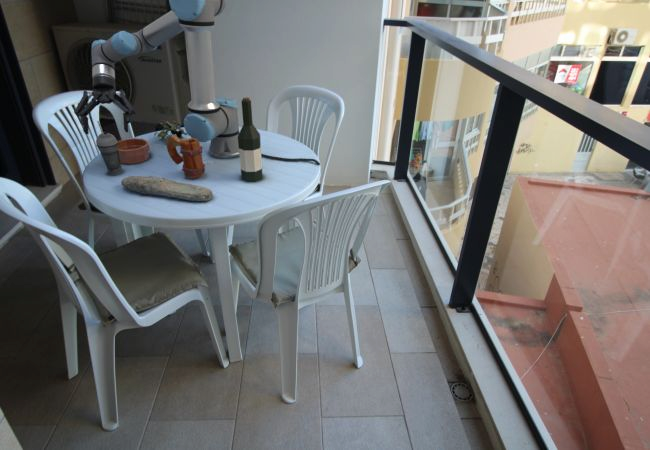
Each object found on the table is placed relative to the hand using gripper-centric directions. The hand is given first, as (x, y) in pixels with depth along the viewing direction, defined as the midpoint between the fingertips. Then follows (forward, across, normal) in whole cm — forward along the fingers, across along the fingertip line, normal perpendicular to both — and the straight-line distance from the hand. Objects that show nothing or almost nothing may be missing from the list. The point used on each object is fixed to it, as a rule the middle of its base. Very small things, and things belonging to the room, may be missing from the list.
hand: (106, 131), depth 145 cm
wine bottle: (+23, -51, 0) cm, 56 cm away
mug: (+18, -27, -5) cm, 33 cm away
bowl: (+3, -4, -19) cm, 20 cm away
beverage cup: (+12, 0, -10) cm, 16 cm away
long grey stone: (+28, -20, +5) cm, 35 cm away
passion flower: (-10, -18, -32) cm, 38 cm away
